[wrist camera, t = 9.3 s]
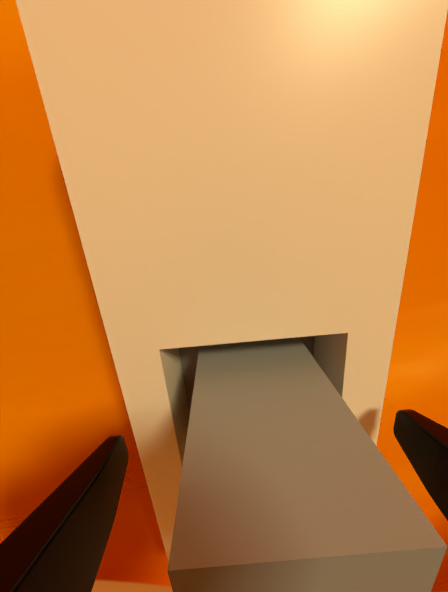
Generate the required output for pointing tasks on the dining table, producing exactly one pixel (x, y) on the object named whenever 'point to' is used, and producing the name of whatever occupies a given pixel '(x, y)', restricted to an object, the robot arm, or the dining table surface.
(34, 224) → the dining table surface
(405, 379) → the dining table surface
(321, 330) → the cream socket panel
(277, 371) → the plug
